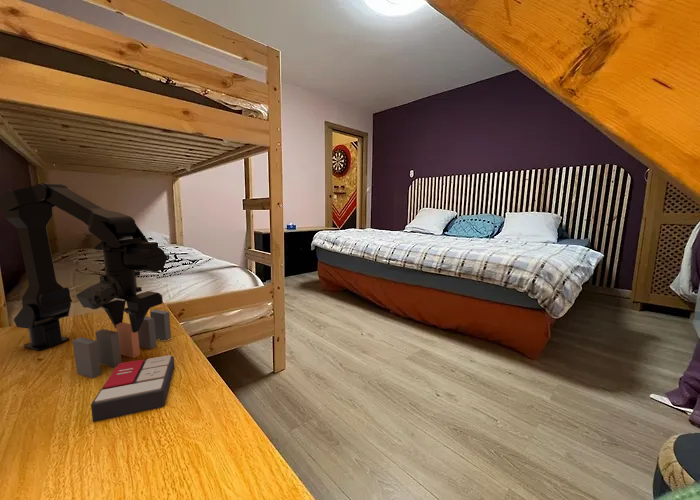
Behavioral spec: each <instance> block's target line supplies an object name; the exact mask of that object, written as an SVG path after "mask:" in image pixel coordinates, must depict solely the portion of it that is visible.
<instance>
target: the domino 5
mask: <svg viewBox="0 0 700 500" xmlns="http://www.w3.org/2000/svg"><path fill="white" fill-rule="evenodd" d="M149 314H150V315H149V317H151V318H154V324H155V335H156V340H157V339H160V340H159V341H161V340H168V339H170V338H171V339H172V331H171V317H170V312H169V311H165V310H160V309H156V308H155V309H152V310H150V311H149ZM171 339H170V340H171ZM168 341H169V340H168Z"/></svg>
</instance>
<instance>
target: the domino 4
mask: <svg viewBox="0 0 700 500" xmlns="http://www.w3.org/2000/svg"><path fill="white" fill-rule="evenodd" d="M138 339H139V348H143V349H149V350H152V349H155V348H157V339H156V335H155V324H154V318H151V317H150V316H145V318H144V320H143V322H142V324H141V326H140V329H139V331H138Z"/></svg>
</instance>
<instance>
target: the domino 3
mask: <svg viewBox="0 0 700 500" xmlns="http://www.w3.org/2000/svg"><path fill="white" fill-rule="evenodd" d="M115 329H116V331H115V332H118V336H119V344H120V353H121V355H122V356H124V357H125V356H126V357H130V358H133V359H134V358H137V357H138V356H140V355H141V351H140V349H141V348H140V347H139V339H138V331H137V332H135V333H134V332H133V331H132V327H131V323H128V322H124V321H122V323H119V324H116V328H115Z"/></svg>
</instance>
